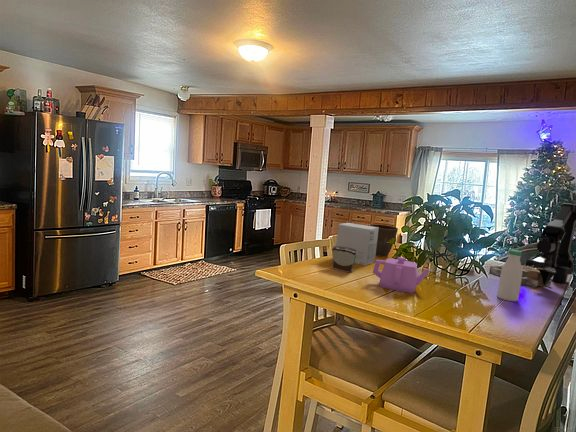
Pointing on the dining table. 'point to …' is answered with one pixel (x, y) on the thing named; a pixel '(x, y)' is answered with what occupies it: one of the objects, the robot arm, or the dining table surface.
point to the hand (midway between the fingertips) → (544, 284)
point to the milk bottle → (510, 277)
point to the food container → (344, 258)
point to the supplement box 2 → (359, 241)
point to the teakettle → (399, 274)
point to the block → (535, 276)
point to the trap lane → (525, 280)
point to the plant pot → (385, 239)
